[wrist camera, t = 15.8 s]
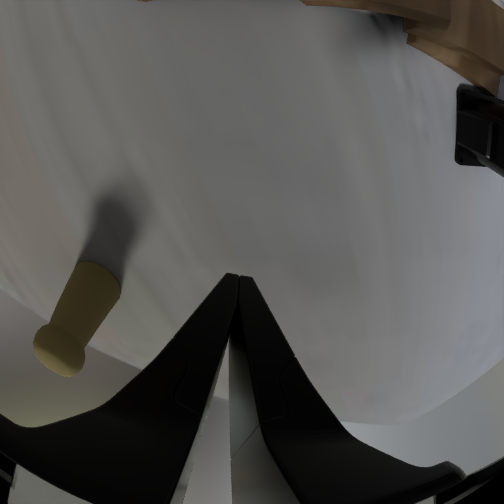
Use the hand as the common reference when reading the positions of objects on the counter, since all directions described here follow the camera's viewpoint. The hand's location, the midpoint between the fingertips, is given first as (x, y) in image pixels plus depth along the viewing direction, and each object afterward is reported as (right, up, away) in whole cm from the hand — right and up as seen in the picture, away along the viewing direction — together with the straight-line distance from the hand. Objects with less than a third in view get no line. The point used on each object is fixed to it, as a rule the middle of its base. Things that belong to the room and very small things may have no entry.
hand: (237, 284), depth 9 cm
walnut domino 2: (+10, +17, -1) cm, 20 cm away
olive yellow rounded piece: (-16, -2, +17) cm, 24 cm away
